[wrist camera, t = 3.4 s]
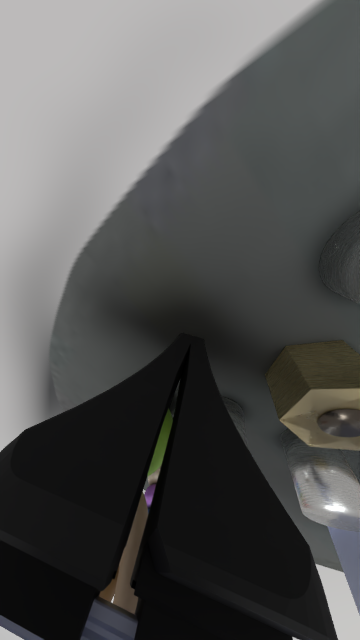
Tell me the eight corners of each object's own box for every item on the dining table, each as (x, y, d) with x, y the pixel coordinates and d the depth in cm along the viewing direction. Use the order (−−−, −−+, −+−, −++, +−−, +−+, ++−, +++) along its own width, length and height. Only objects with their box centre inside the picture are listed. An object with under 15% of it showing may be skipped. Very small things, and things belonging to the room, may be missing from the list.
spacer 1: (233, 427, 14) (237, 491, 10) (194, 414, 14) (186, 471, 11) (250, 405, 12) (262, 474, 8) (205, 390, 12) (199, 450, 9)
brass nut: (321, 406, 10) (354, 463, 8) (256, 385, 11) (267, 433, 8) (387, 351, 8) (470, 410, 5) (298, 327, 8) (333, 370, 6)
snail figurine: (198, 418, 14) (141, 892, 4) (141, 416, 16) (12, 714, 6) (178, 375, 12) (-57, 1144, 2) (116, 381, 14) (-141, 739, 4)
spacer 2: (315, 456, 13) (348, 534, 10) (272, 441, 13) (289, 511, 10) (347, 437, 11) (402, 526, 8) (296, 420, 12) (327, 498, 8)
